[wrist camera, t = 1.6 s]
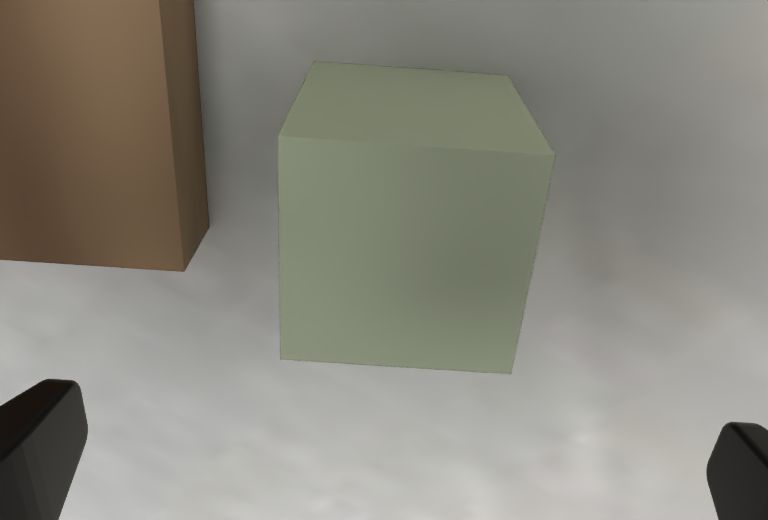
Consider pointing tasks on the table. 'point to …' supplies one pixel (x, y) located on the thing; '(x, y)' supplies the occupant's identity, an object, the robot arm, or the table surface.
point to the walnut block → (101, 133)
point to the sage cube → (408, 217)
